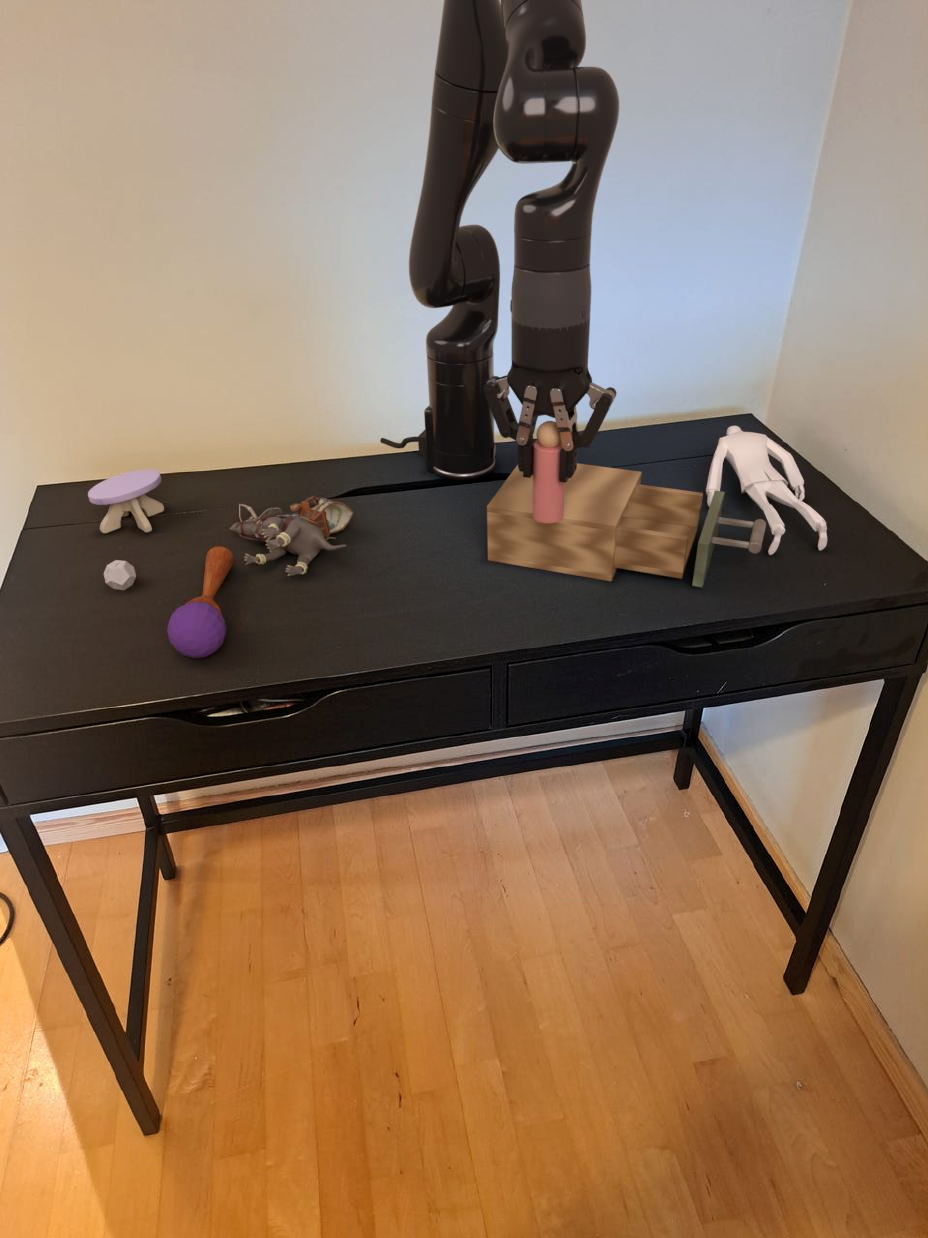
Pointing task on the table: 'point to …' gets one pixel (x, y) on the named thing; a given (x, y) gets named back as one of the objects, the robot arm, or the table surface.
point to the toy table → (127, 498)
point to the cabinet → (562, 523)
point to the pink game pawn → (547, 475)
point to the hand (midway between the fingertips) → (546, 476)
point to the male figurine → (763, 479)
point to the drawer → (674, 532)
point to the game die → (119, 575)
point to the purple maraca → (202, 611)
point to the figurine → (295, 530)
